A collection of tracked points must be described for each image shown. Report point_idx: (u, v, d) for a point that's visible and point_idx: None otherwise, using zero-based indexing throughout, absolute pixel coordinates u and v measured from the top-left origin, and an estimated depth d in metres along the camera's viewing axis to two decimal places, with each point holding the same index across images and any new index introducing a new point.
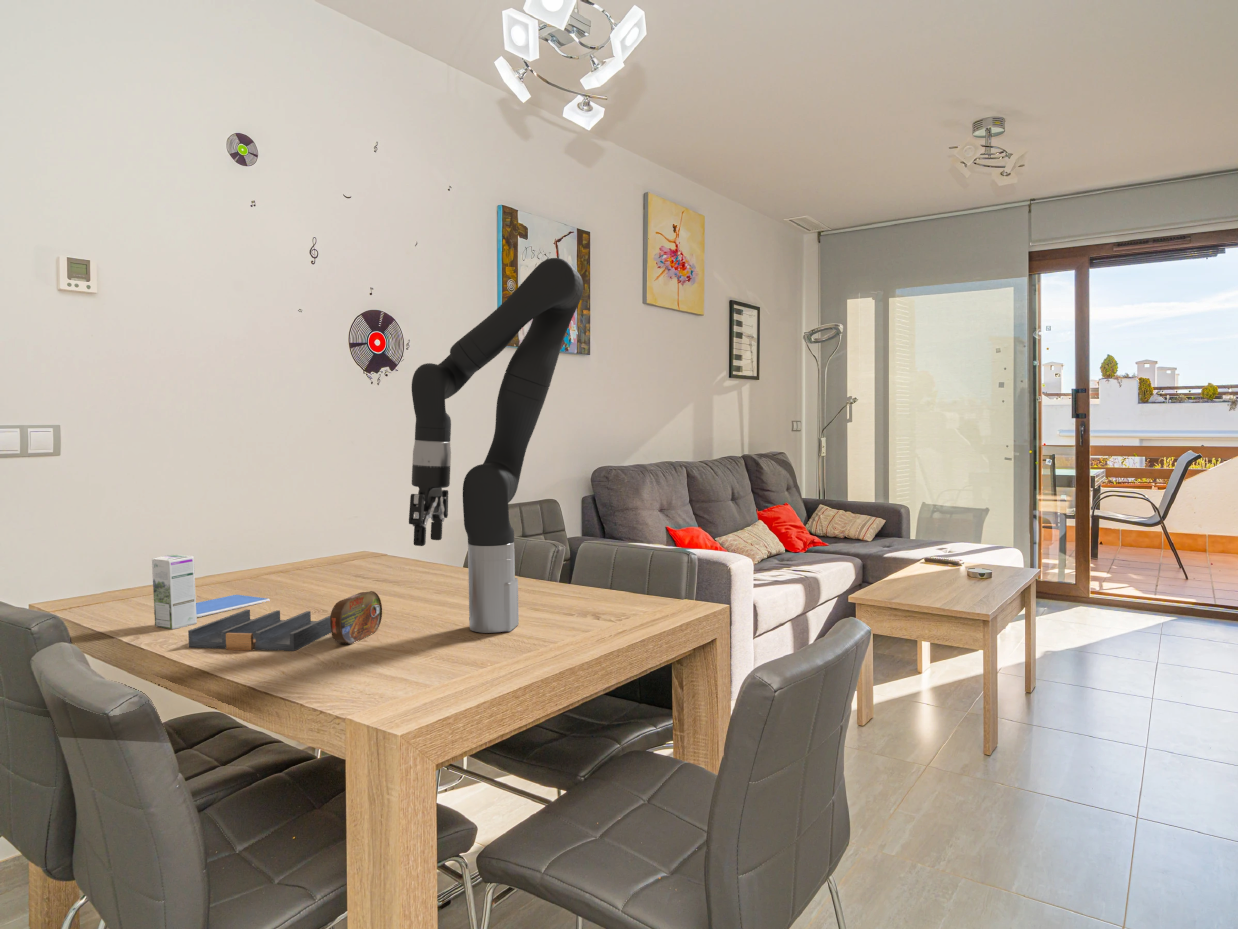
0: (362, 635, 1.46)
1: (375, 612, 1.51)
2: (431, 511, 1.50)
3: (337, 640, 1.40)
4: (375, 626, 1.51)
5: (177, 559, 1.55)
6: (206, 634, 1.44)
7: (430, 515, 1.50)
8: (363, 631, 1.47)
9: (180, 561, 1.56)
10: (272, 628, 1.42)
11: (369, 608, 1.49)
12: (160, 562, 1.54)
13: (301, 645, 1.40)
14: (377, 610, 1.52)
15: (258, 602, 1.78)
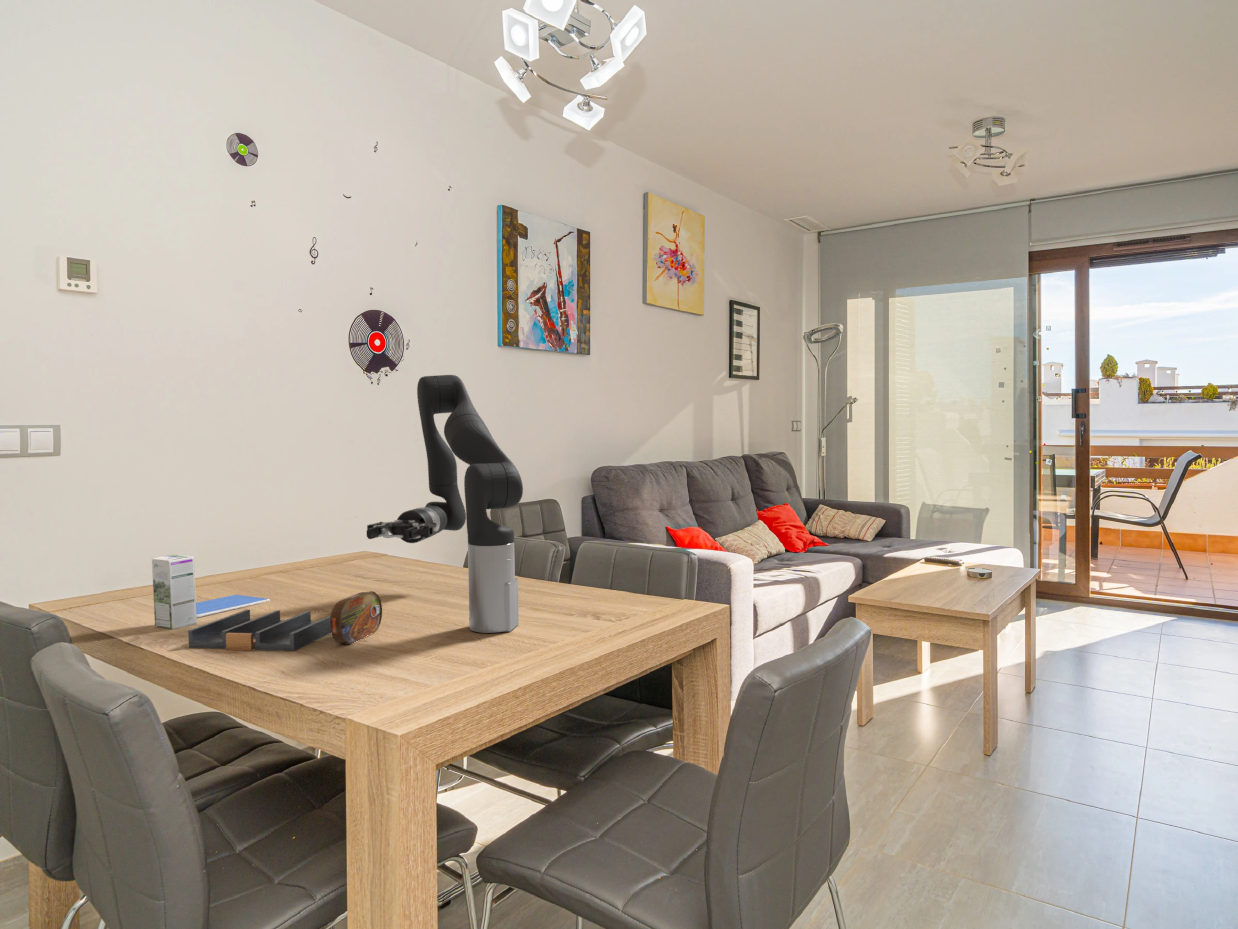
0: (362, 635, 1.46)
1: (375, 612, 1.51)
2: (388, 522, 1.67)
3: (337, 640, 1.40)
4: (375, 626, 1.51)
5: (177, 559, 1.55)
6: (206, 634, 1.44)
7: (384, 522, 1.66)
8: (363, 631, 1.47)
9: (180, 561, 1.56)
10: (272, 628, 1.42)
11: (369, 608, 1.49)
12: (160, 562, 1.54)
13: (301, 645, 1.40)
14: (377, 610, 1.52)
15: (258, 602, 1.78)
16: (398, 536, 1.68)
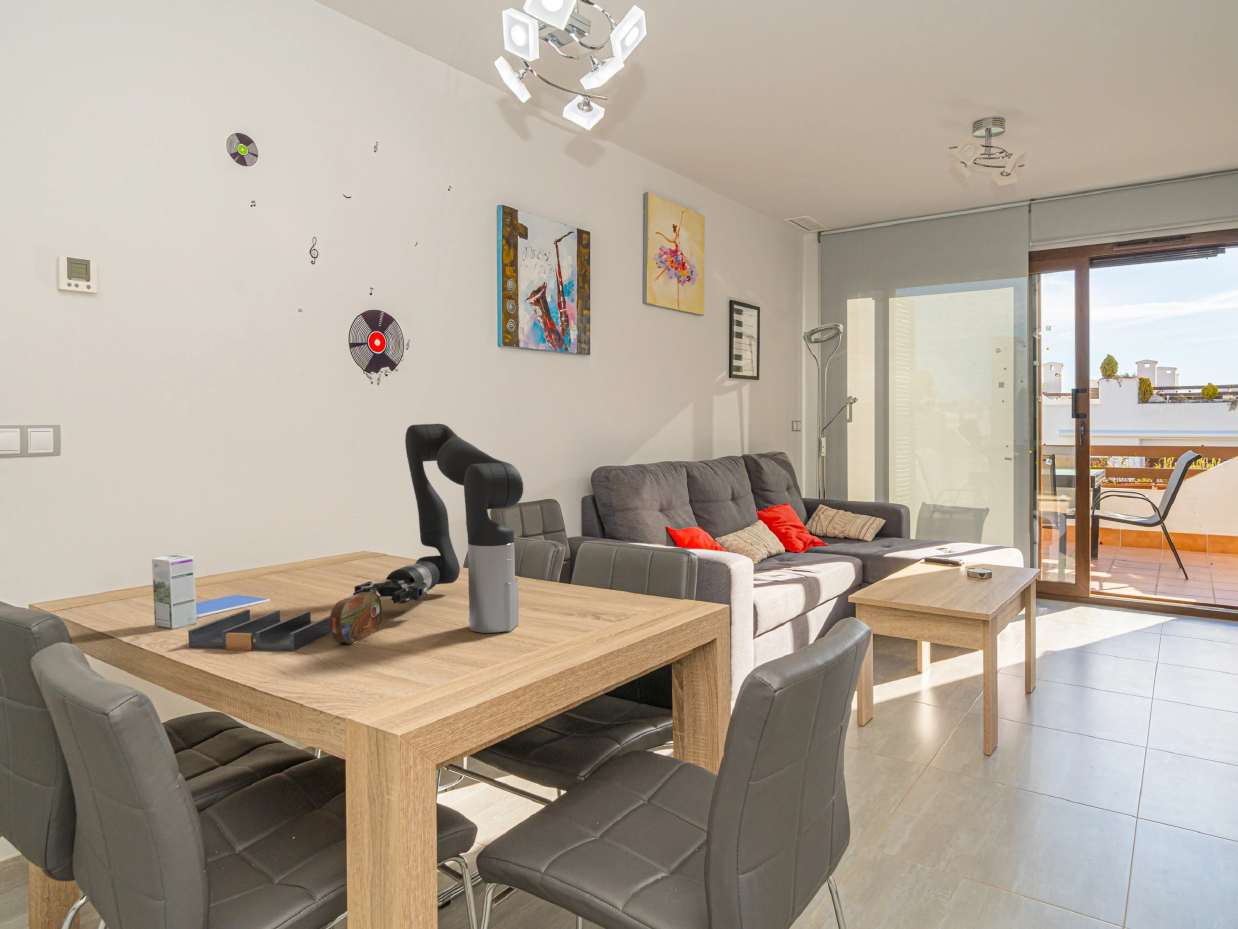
0: (362, 635, 1.46)
1: (375, 612, 1.51)
2: (376, 583, 1.61)
3: (337, 640, 1.40)
4: (375, 626, 1.51)
5: (177, 559, 1.55)
6: (206, 634, 1.44)
7: (372, 584, 1.60)
8: (363, 631, 1.47)
9: (180, 561, 1.56)
10: (272, 628, 1.42)
11: (369, 608, 1.49)
12: (160, 562, 1.54)
13: (301, 645, 1.40)
14: (377, 610, 1.52)
15: (258, 602, 1.78)
16: (387, 597, 1.62)
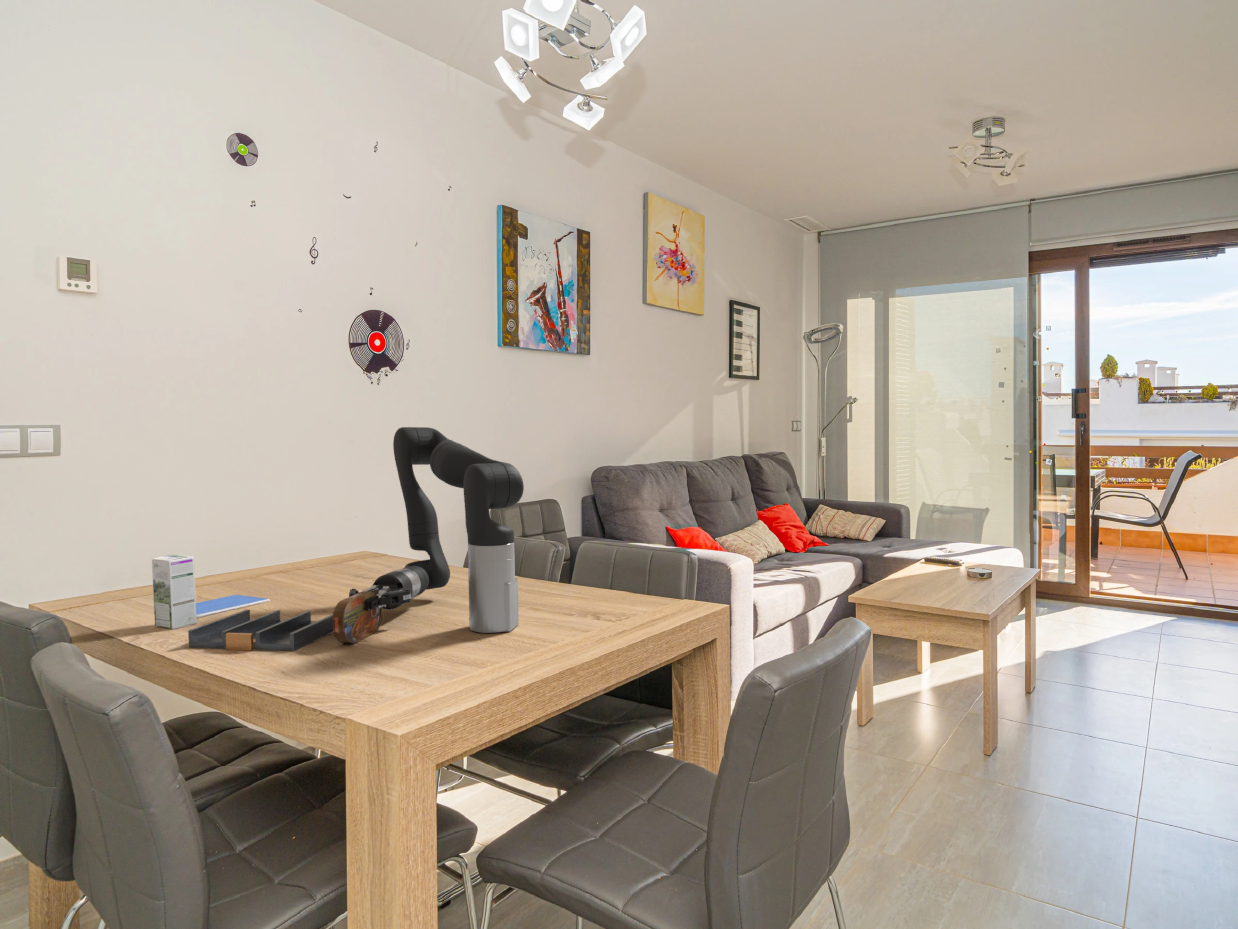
0: (363, 635, 1.46)
1: (375, 612, 1.51)
2: (367, 589, 1.54)
3: (339, 640, 1.40)
4: (375, 626, 1.51)
5: (177, 559, 1.55)
6: (206, 634, 1.44)
7: (364, 590, 1.53)
8: (364, 631, 1.47)
9: (180, 561, 1.56)
10: (272, 628, 1.42)
11: None
12: (160, 562, 1.54)
13: (301, 645, 1.40)
14: (377, 610, 1.52)
15: (258, 602, 1.78)
16: None
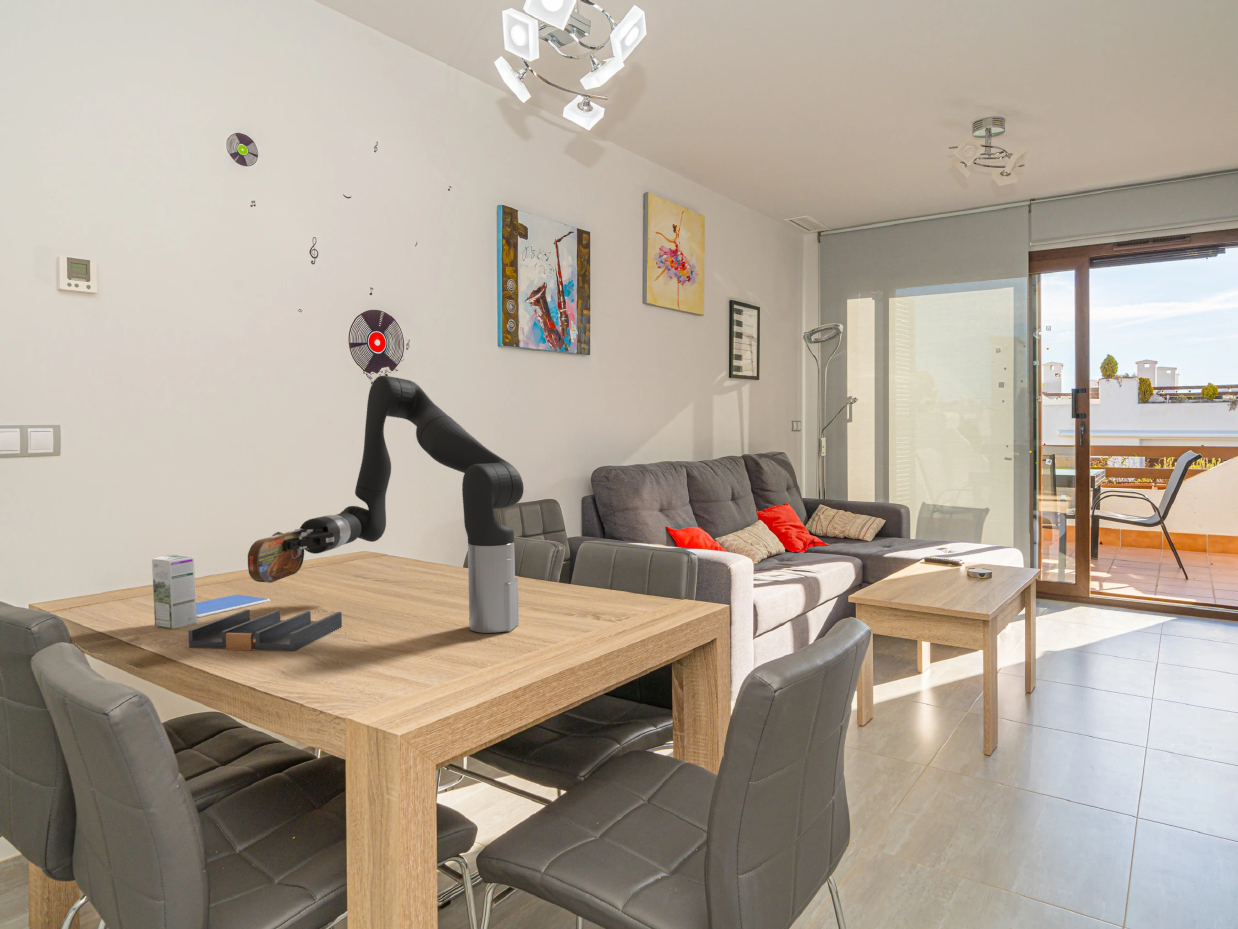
0: (281, 575, 1.47)
1: (296, 554, 1.52)
2: (290, 532, 1.55)
3: (254, 578, 1.42)
4: (296, 567, 1.52)
5: (177, 559, 1.55)
6: (206, 634, 1.44)
7: None
8: (283, 572, 1.48)
9: (180, 561, 1.56)
10: (272, 628, 1.42)
11: None
12: (160, 562, 1.54)
13: (301, 645, 1.40)
14: (299, 552, 1.53)
15: (258, 602, 1.78)
16: None
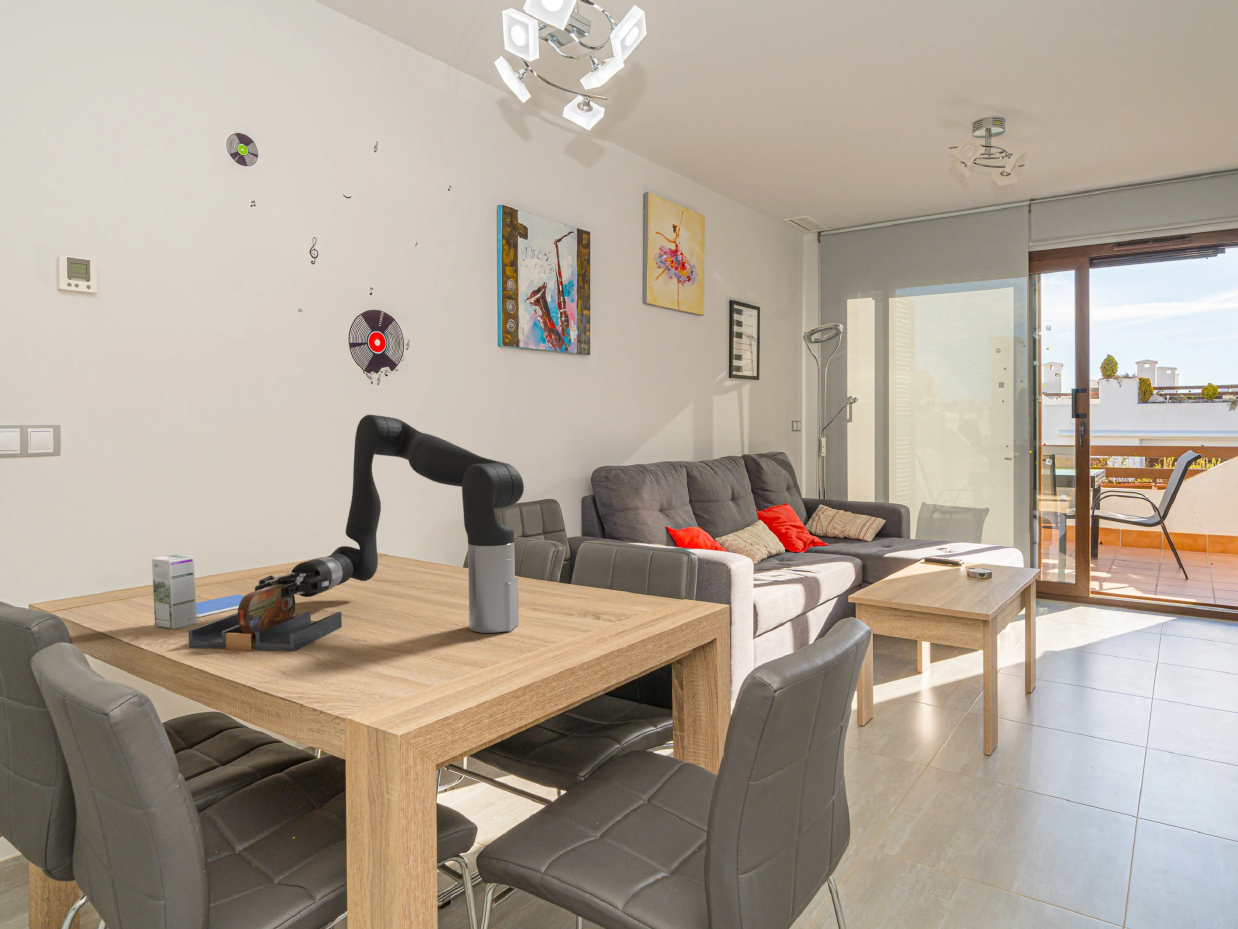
0: None
1: (287, 605, 1.53)
2: (280, 576, 1.55)
3: (245, 632, 1.42)
4: None
5: (177, 559, 1.55)
6: (206, 634, 1.44)
7: (276, 577, 1.54)
8: (274, 624, 1.48)
9: (180, 561, 1.56)
10: (272, 628, 1.42)
11: (281, 601, 1.51)
12: (160, 562, 1.54)
13: (301, 645, 1.40)
14: (290, 603, 1.53)
15: None
16: None
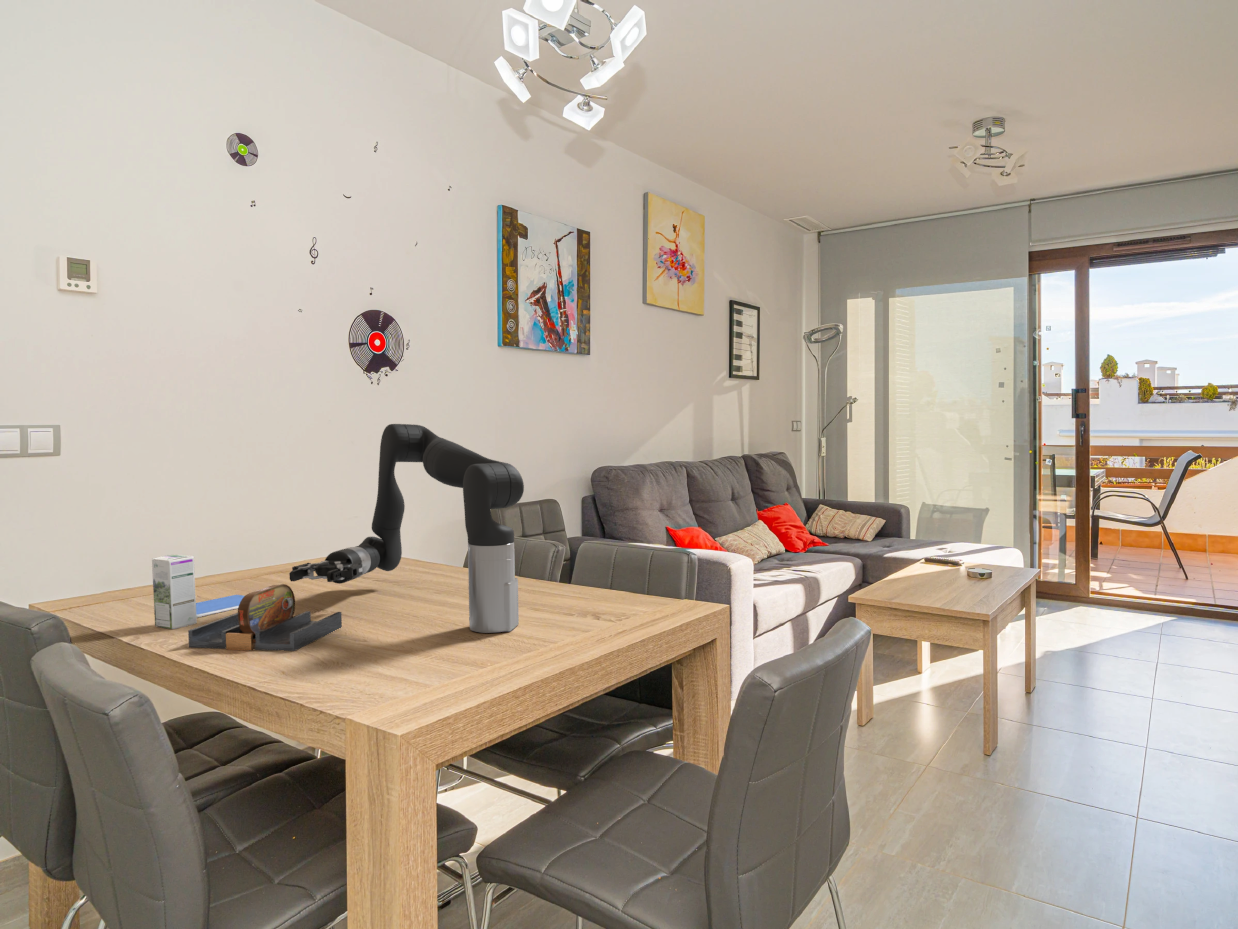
0: None
1: (287, 605, 1.53)
2: (313, 563, 1.69)
3: (245, 632, 1.42)
4: None
5: (177, 559, 1.55)
6: (206, 634, 1.44)
7: (309, 564, 1.68)
8: (274, 624, 1.48)
9: (180, 561, 1.56)
10: (272, 628, 1.42)
11: (281, 601, 1.51)
12: (160, 562, 1.54)
13: (301, 645, 1.40)
14: (290, 603, 1.53)
15: None
16: (324, 577, 1.70)
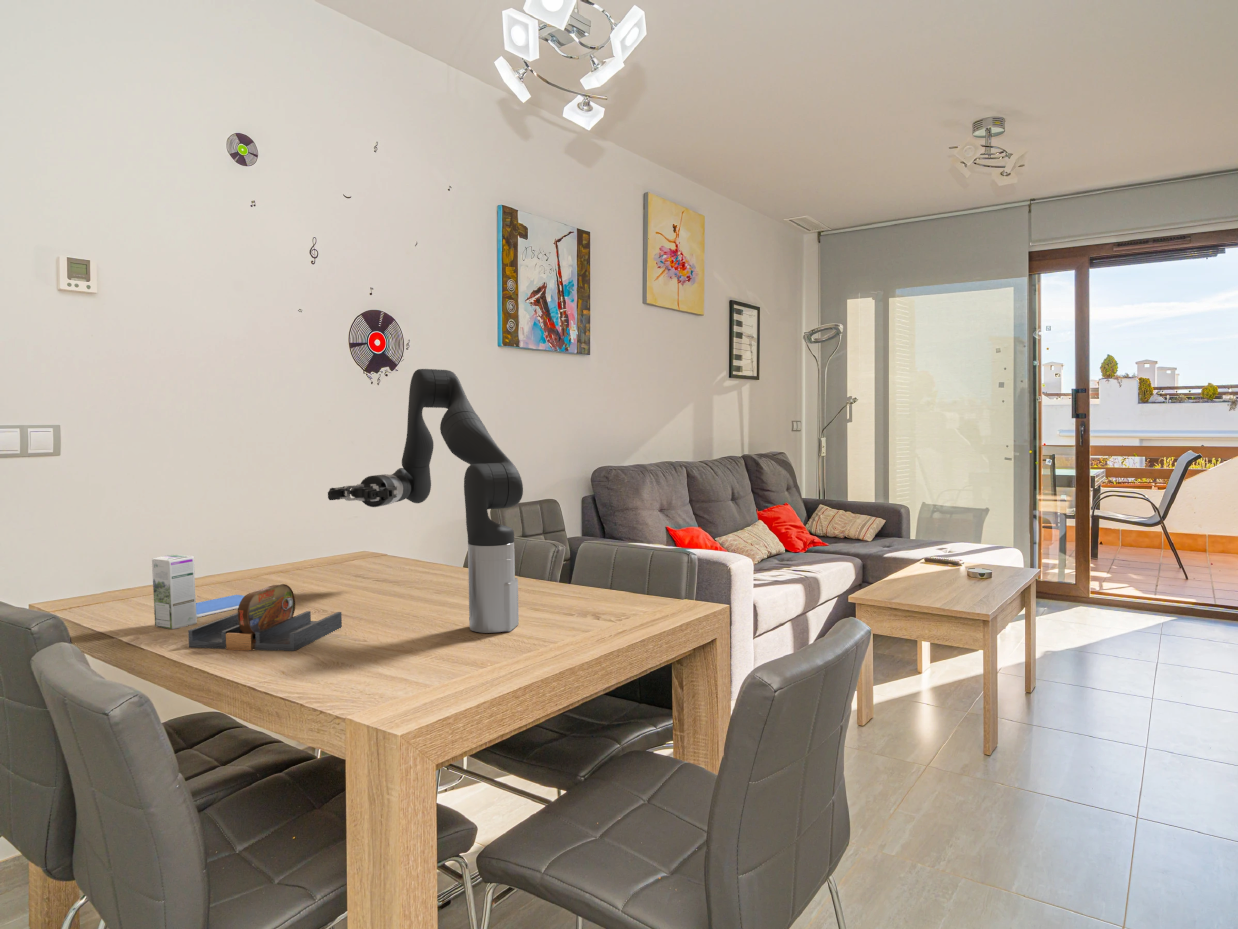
0: None
1: (287, 605, 1.53)
2: None
3: (245, 632, 1.42)
4: None
5: (177, 559, 1.55)
6: (206, 634, 1.44)
7: (346, 486, 1.73)
8: (274, 624, 1.48)
9: (180, 561, 1.56)
10: (272, 628, 1.42)
11: (281, 601, 1.51)
12: (160, 562, 1.54)
13: (301, 645, 1.40)
14: (290, 603, 1.53)
15: None
16: (360, 499, 1.75)
